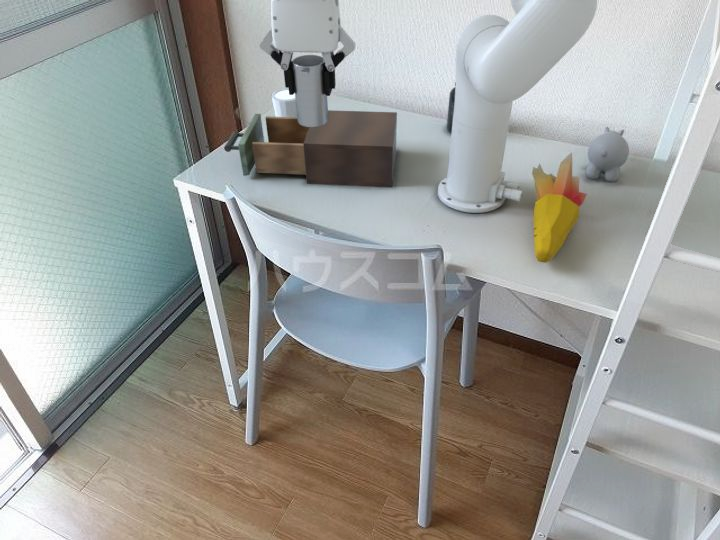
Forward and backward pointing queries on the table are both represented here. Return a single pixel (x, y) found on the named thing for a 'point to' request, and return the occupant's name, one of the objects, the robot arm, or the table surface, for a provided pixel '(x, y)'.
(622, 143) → the toy rhinoceros
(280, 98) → the white cylinder
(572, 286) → the table surface
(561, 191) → the torch
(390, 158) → the cabinet
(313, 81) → the measuring cup
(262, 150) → the drawer
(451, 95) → the supplement bottle
